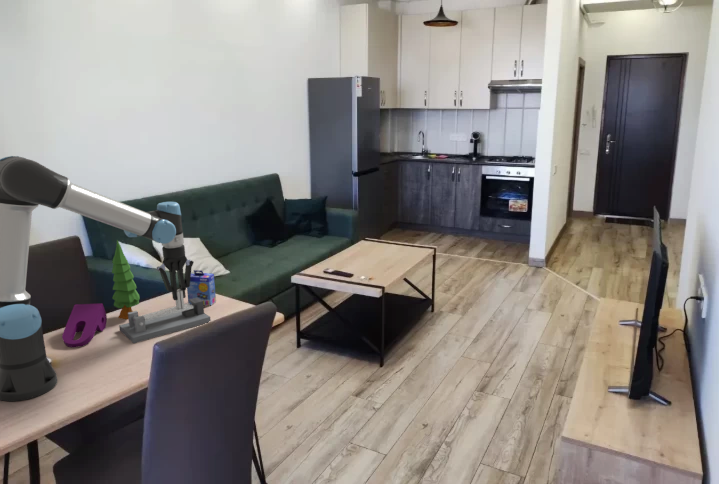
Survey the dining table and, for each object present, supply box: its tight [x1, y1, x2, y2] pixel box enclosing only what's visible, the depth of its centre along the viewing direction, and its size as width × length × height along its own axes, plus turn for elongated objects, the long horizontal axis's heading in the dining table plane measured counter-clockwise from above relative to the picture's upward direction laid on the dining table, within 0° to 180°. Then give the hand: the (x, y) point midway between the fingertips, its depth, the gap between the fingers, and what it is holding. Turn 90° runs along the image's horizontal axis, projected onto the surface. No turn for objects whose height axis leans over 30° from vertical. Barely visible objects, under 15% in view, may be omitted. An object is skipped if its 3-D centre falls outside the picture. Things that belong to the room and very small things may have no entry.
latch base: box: [118, 298, 212, 344], centre depth 196 cm, size 28×14×7 cm, turn 131°
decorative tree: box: [111, 239, 140, 321], centre depth 201 cm, size 10×9×30 cm
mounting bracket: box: [61, 303, 108, 348], centre depth 188 cm, size 9×8×18 cm
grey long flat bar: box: [132, 302, 193, 322], centre depth 195 cm, size 21×4×2 cm, turn 131°
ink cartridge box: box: [186, 269, 217, 306], centre depth 217 cm, size 10×6×14 cm, turn 82°
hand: (180, 307), depth 199 cm, fingers closed, pressing on grey long flat bar
